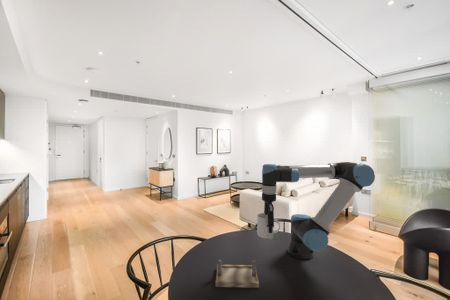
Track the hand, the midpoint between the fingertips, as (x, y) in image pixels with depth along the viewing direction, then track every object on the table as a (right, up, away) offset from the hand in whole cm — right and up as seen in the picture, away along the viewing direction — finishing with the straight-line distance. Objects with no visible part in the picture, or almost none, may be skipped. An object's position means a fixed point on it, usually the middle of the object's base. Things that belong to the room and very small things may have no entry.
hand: (268, 234), depth 111 cm
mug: (0, -1, 0) cm, 1 cm away
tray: (-18, -18, -9) cm, 26 cm away
